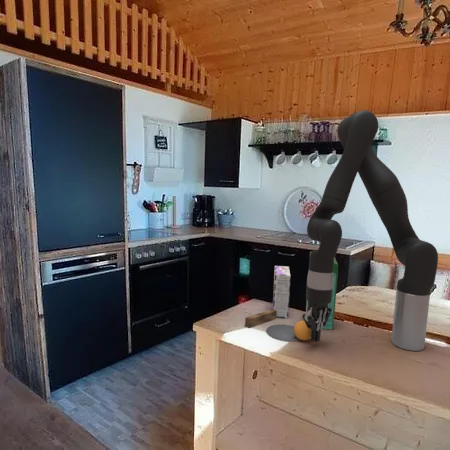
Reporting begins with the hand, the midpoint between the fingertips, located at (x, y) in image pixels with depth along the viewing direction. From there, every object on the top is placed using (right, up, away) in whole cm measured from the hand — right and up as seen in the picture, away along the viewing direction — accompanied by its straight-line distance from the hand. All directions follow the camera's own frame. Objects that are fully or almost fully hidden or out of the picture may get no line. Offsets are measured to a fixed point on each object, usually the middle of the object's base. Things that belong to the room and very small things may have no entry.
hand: (315, 340), depth 109 cm
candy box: (-6, +2, +29) cm, 29 cm away
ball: (-3, +2, +4) cm, 5 cm away
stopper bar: (-15, +1, +17) cm, 23 cm away
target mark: (-7, 0, +9) cm, 12 cm away
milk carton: (+6, 0, +18) cm, 19 cm away
